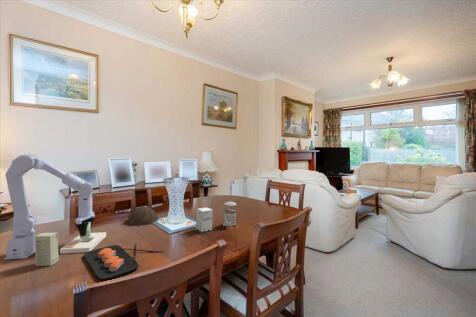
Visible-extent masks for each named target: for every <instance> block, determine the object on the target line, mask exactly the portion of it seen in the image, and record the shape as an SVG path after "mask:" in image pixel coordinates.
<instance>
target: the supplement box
mask: <svg viewBox="0 0 476 317" xmlns="http://www.w3.org/2000/svg"><path fill="white" fill-rule="evenodd" d="M195 213H196V216H195V217H196V218H195V230H197V229H198V230H199V231H198V230H197V231H198V232H200V231H201V232H200V233H204V231H205V232H208V230H209V231H213V209H212V208H209V207H200V208H196V212H195Z"/></svg>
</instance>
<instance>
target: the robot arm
mask: <svg viewBox="0 0 476 317" xmlns="http://www.w3.org/2000/svg"><path fill="white" fill-rule="evenodd" d="M32 169H33V170H41V171H45V172H47V173H49V174H51V175H53V176H55V177H57V178H59V179H60V180H61V183H62V184H63V185H65V186H68V187H69V188H71V189H73V190H74V191H77V192H78V196H79V197H78V216H77V218H76V220H75V222H74V225H75V226H76V228H77V230H78V233H79V235H80V236H86V231H87V226H88V224H89V222H91V229H92V227H93V223H94V221H95V220H96V217H95V216H96V214H95V211H93V189H94V188H93V184H92V183H90V181H87V179H82V178H81V177H79V176H78V174H77V173H75V172H74V173H72V172H69V173H66V172H65V171H63V170H62V169H60V168H58V167H57V166H55V165H54V164H52V163H51V162H49V161H47V160H45V159H43V158H41V157H38V156H37V155H36V154H30V153H29V154H20V155H18V156H17V157H16V158H14V159H13V160H12V161H11V164H10V166H9V168H8V170H7V171H6V172H5V180H6V184H7V188H8V189H7V190H8V193H9V198H10V203H11V207H12V211H13V212H12V213H13V217H12V227H11V233H12V238H11V239H10V240H8V242H7V243H6V257H4V258H3V259H4V260H18V259H27V258H28V257H30V256H32V255H33V254H35V236H36V230H35V229H34V227H36V224H37V220H36V218H35V217H34V216H33V214H32V212H31V211H30V208H29V203H28V202H29V201H28V198H27V197H28V196H27V193H26V188H25V184H24V178H23V176H24V175H25V174H27V173H28V171H30V170H32Z"/></svg>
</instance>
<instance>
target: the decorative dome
mask: <svg viewBox="0 0 476 317" xmlns="http://www.w3.org/2000/svg"><path fill="white" fill-rule="evenodd" d="M158 219H159V220H160V217H159V216H158V214H157V212H156V211H155V210H154V209H153V208H151V207H148V206H140V207H137V208H135V209H134V210H132V211H131V212H130V213H129V215H128V218H127V221H126V224H129V226H136V225H137V227H140V226H141V225H142V226H150V225H152V224H154V223H153V222H155V221H157V222H158V221H159V220H158ZM151 223H152V224H151ZM149 224H150V225H149Z"/></svg>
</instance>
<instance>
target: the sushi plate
mask: <svg viewBox="0 0 476 317" xmlns="http://www.w3.org/2000/svg"><path fill="white" fill-rule="evenodd" d="M127 251H134V258H133V257H132V256H131V255H130V254H129V253H128V252H127ZM137 251H138V252H147V253H163V252H162V251H160V250H147V249H137V244H136V245H135V244H134V249H133V248H132V249H131V248H122V246H120V245H118V244H115V245H108V246H105V247H99V248H95V249H92V250H91V251H89V252H84V255H83V256H84V258H85V260H86V262H87V263H88V265H89V267H90V268H91V269H92V270H91V271H93V273H94V275H95V276H96V277H97V278H98V279H100V280H107V279H108V280H109V279H111V278H115V277H118V276H121V275H125V274H127V273H130V272H132V271H135V270H137V269H138V268H139V266H140V265H139V263H138V262H137Z"/></svg>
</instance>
